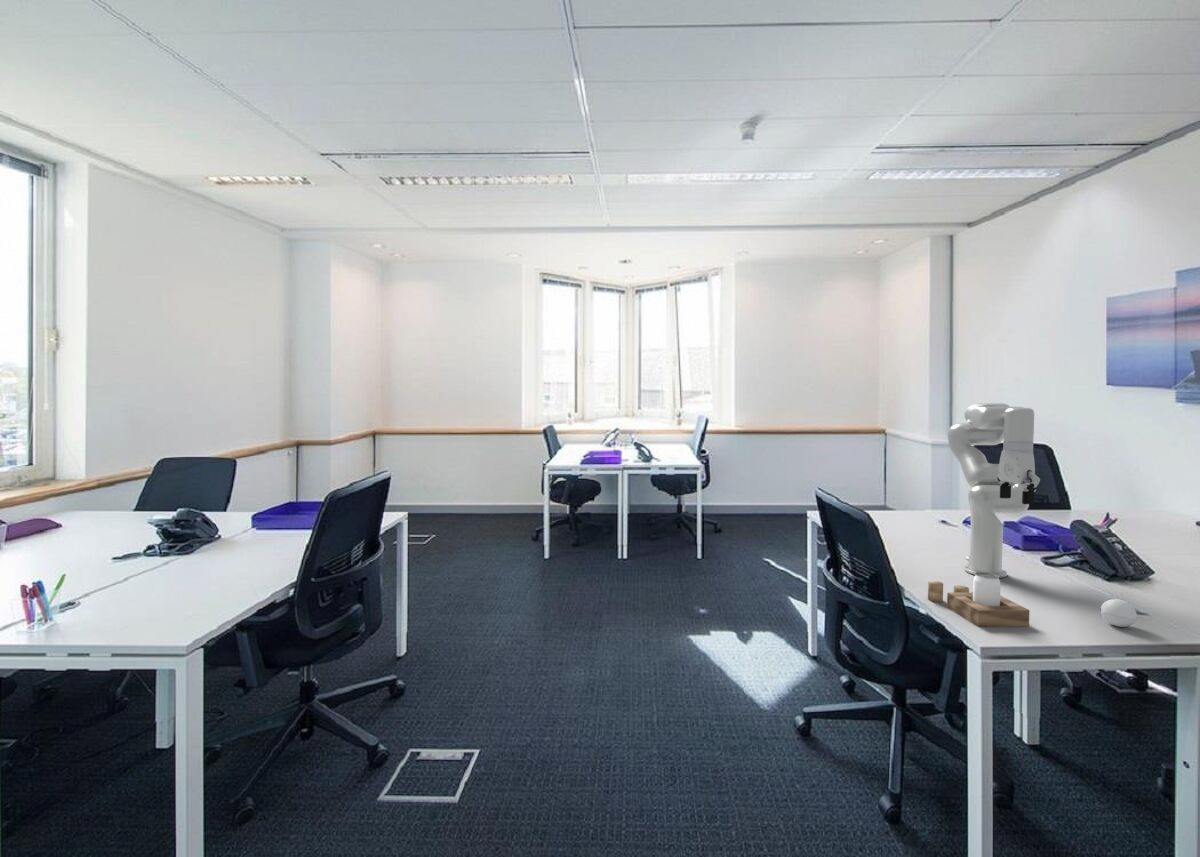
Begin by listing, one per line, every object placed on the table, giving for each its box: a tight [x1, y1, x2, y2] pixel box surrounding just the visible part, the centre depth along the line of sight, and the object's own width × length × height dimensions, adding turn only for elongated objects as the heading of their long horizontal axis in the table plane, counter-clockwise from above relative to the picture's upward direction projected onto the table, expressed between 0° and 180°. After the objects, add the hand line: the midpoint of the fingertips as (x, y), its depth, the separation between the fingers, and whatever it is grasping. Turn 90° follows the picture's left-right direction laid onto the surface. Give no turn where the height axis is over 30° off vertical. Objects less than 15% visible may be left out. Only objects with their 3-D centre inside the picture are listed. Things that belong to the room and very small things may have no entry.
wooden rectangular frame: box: [946, 591, 1031, 627], centre depth 161 cm, size 14×14×4 cm
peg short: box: [953, 584, 970, 593], centre depth 174 cm, size 4×4×4 cm
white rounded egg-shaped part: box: [1100, 598, 1138, 628], centre depth 153 cm, size 10×7×7 cm
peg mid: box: [927, 580, 944, 603], centre depth 174 cm, size 4×4×6 cm
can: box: [972, 572, 1001, 606], centre depth 161 cm, size 6×6×12 cm
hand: (1016, 500), depth 176 cm, fingers open, 9 cm apart
